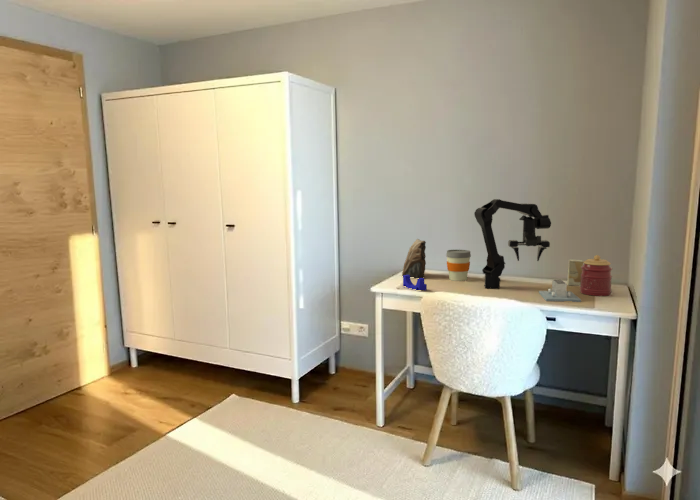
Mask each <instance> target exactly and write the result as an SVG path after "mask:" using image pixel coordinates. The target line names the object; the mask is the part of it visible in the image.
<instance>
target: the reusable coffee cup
mask: <svg viewBox="0 0 700 500" xmlns="http://www.w3.org/2000/svg"><path fill="white" fill-rule="evenodd" d="M445 256H446V267H447V269H446V270H447V272H448V278H449V280H450V281H455V282H463V281H467V280H468V273H469V271H470V267H471V266H470V265H471V261H470V260H471V256H472V255H471V251H470V250H467V249H448V250H446V254H445Z"/></svg>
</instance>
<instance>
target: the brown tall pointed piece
mask: <svg viewBox="0 0 700 500" xmlns="http://www.w3.org/2000/svg"><path fill="white" fill-rule="evenodd" d="M426 243H427V242H426V240H420V239H419V238H417V239H415V241H413V243H412V245H411V246H410V247H409V250H408V252H407V255H406V258H405V261H404V263H403V268H402V272H401V277H402V276H403V275H410V277H414V278H413V279H416V278H423V277H425V272H426V265H427V262H426Z"/></svg>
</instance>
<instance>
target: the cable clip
mask: <svg viewBox="0 0 700 500" xmlns="http://www.w3.org/2000/svg"><path fill="white" fill-rule="evenodd" d="M416 280H417V281H416V283H415V284H414V283H413V282H412V278H410V275H403V277H402V287H403V286H406V287H408V288H407V289H409V288H412V289H411V290H413V289H416V290H424V291H427V289H428V287H427V284H426V283H425V278H419V279H416ZM416 290H415V291H416Z"/></svg>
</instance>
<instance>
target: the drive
mask: <svg viewBox="0 0 700 500" xmlns="http://www.w3.org/2000/svg"><path fill="white" fill-rule="evenodd" d="M567 287H568V284H567V282H566V281H564V280H563V279H552V280H551V291H552V292H555V296H556V297H566V291H567Z"/></svg>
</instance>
